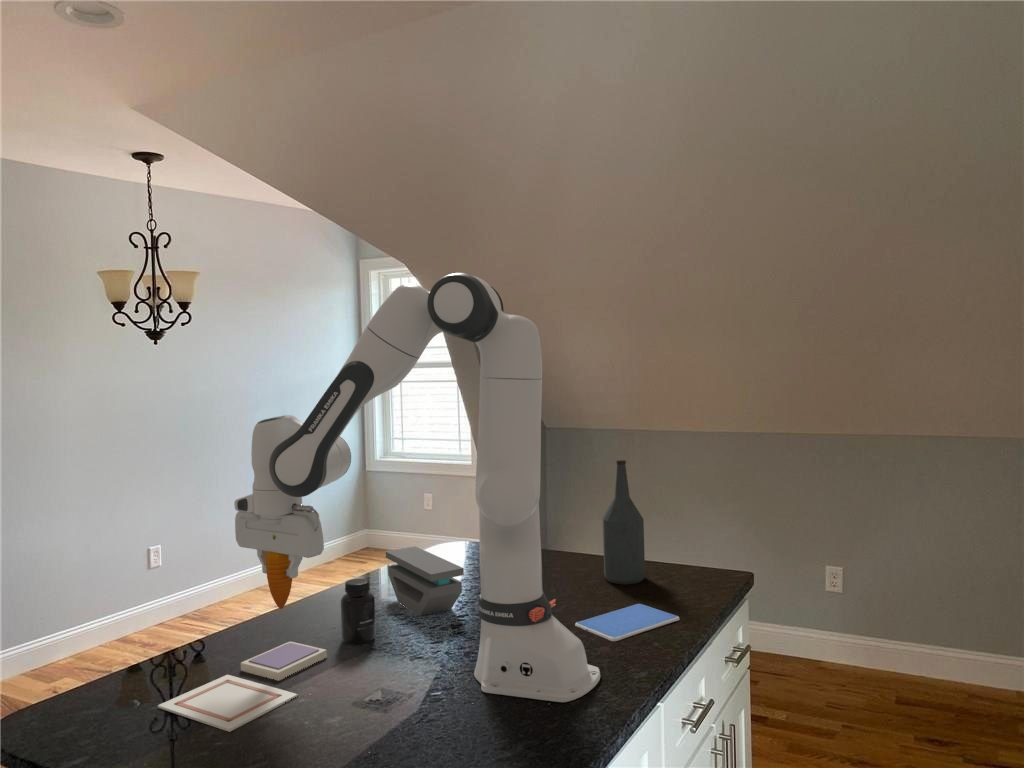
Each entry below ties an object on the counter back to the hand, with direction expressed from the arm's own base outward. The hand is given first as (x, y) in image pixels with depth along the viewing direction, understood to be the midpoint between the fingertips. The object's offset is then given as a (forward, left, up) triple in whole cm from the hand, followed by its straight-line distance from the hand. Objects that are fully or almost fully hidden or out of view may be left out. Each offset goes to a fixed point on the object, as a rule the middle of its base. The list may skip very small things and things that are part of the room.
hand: (280, 575), depth 145 cm
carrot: (0, 0, -7) cm, 7 cm away
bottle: (-36, -78, -17) cm, 88 cm away
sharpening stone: (-3, -39, -17) cm, 43 cm away
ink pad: (0, 0, -17) cm, 17 cm away
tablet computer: (-49, -49, -18) cm, 72 cm away
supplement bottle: (-4, -16, -17) cm, 24 cm away
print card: (-4, +16, -17) cm, 24 cm away
